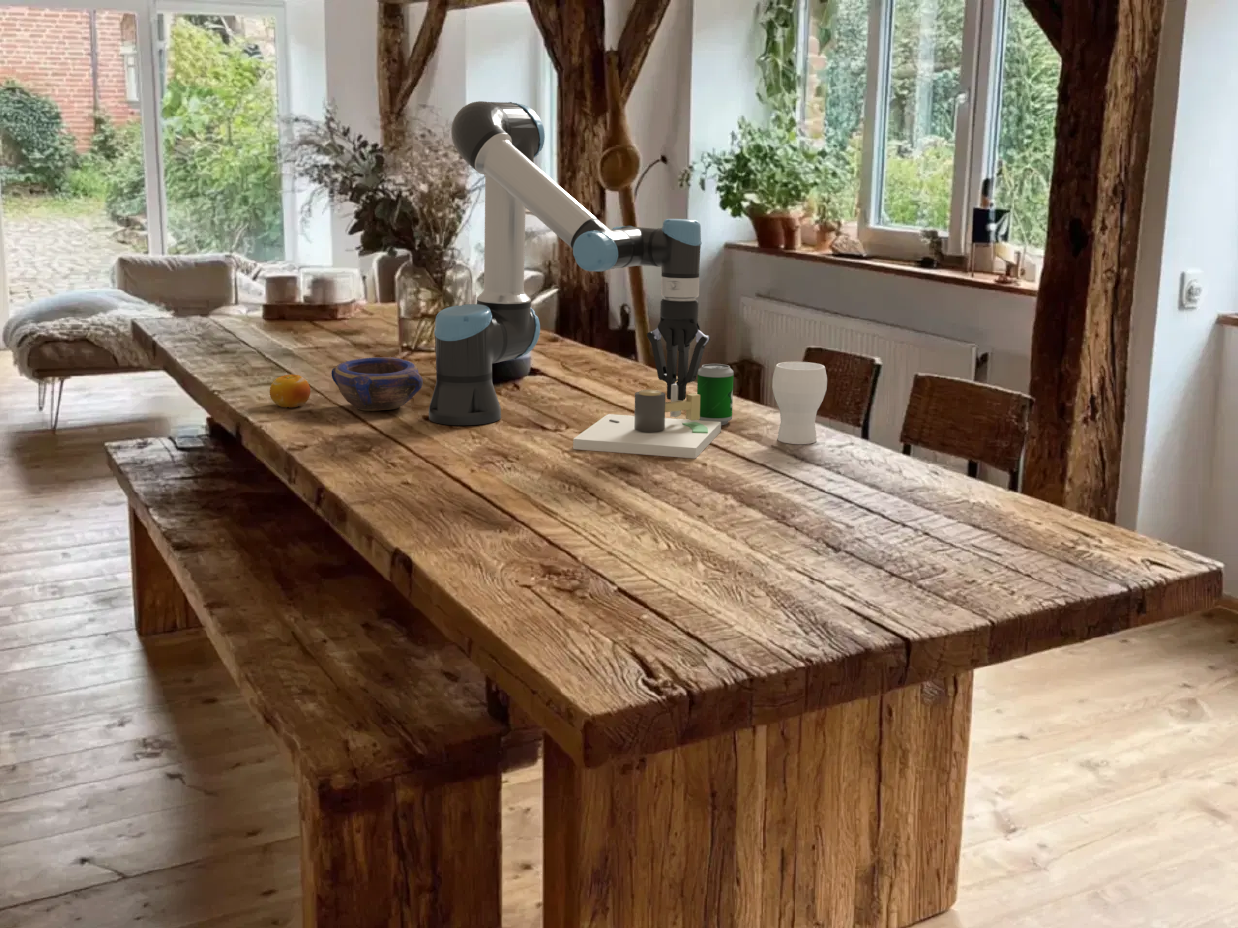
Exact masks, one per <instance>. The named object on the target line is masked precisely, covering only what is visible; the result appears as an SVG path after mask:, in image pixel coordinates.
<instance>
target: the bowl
mask: <svg viewBox="0 0 1238 928" xmlns="http://www.w3.org/2000/svg"><path fill="white" fill-rule="evenodd" d="M330 375H331V378H332V380H333V382H334V383H335V385H336V386H337V387H338V390H339V392H340V394H341V395H342V396H343V398H344V399H345V400H346V401H347V403H349V404H350V405H352V406H353V407H354V408H356V409H358V410H360V411H368V412H375V411H377V412H378V411H386V410H387V411H388V410H396V409H399V408H400V407H402V406H404V405H406V403H408V402H409V401H410V400H411V399H413V397H414V396H415V395H416V394H417V393H419V391H420V390H421V389H422V388H423V386H424V385H423V384H424V383H423V382H424V381H423V377H422V376H421V374H420V373H419V369H418V367H417V365H415V363H413V362H411V361H409V360H406V359H401V358H397V357H389V356H388V357H386V356H383V357H382V356H381V357H380V356H379V357H378V356H377V357H363V358H362V357H361V358H355V359H350V360H346V361H343V362H341V363H339V364H337V365H336V366H335V367H333V368H332V370H331V373H330Z"/></svg>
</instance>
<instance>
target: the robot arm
mask: <svg viewBox="0 0 1238 928" xmlns="http://www.w3.org/2000/svg"><path fill="white" fill-rule="evenodd" d="M450 133H451V135H450V136H451V140H452V144H453V146H454V148H455V149H456V151H457V154H458V155H459V156H460V157H461V158H462V159H463V160H464V161H465V162H466V163H467V164H468V165H469V166H470V167H471V168H472V169H473V170H475V172H477V173H478V174H480V175H484V179H485V182H484V183H485V184H484V251H483V252H484V254H483V255H484V256H483V257H484V258H483V260H484V261H483V264H484V266H483V271H484V272H483V290H482V292H481V293H480V294H479V295H477V297H476V304H475V303H468V304H465V303H464V304H461V305H453V306H449V307H448V306H447V307H446V308H444V309H441V310H440V311H439V312H438V313H437V314H436V315H435V319H434V320H435V322H434V323H435V324H434V325H435V327H434V331H433V332H434V342H435V347H434V348H435V370H436V372H435V374H436V375H435V376H436V379H435V380H436V383H435V386H434V390H433V393H432V396H431V400H430V403H429V407H428V420H429V421H431V422H433V423H436V424H439V425H448V426H478V425H485V424H492V423H494V422H498V421H499V420H501V419H502V408H501V405H500V402H499V398H498V396H497V393H496V389H495V386H494V384H493V364H496V363H500V362H501V363H502V362H505V361H513V360H517V359H519V358H521V357H524V356H526V355H527V354H529V353H530V352H532V351H533V349H534V348H535V347H536V345H537V344H538V341H539V338H540V335H541V334H540V333H541V324H540V319H539V317H538V315H536V312H535V310H534V309H533V308H532V307H531V305H532V300H531V298H530V297H529V295H528V294H527V293H526V292H525V287H524V286H525V256H526V255H525V251H526V250H525V248H526V247H525V246H526V245H525V244H526V209H527V210H528V211H529V212H530V213H532V215H533V216H534V217H536V218H537V219H538V220H539V221H540V222H542V223H543V224H544V226H546V227H547V228H548V229H549V230H551V232H553V233H554V234H555V235H556V236H557V237H558V238H560V239H561V240H562V241H563V242H564V243H565V244H566V245H568V247H570V248H571V249H572V254H573V257H574V259H575V263H576V264H577V265H578V266H579V268H581V269H582V270H584V271H587V272H599V273H600V272H606V271H609V270H614V269H615V270H616V269H623V268H628V267H636V266H637V267H639V266H642V267H643V266H644V267H646V266H647V267H656V268H658V267H660V268H661V281H660V282H661V283H660V284H661V285H660V295H661V297H663V298H662V299H661V300H660V304H659V305H660V306H659V308H660V309H659V310H660V311H659V317H660V318H659V319H660V320H659V322H658V324H657V327H656V329H654V330H652V331H649V332H647V334H646V337H647V339H648V341H649V342H650V344H651V349H652V353H653V358H654V364H655V368H656V373H657V377H658V380H659V381H663V382H665V383H666V398H667V400H670V402H673V401H683V400H686V397H687V384H689V383H692V382H694V381H696V379H697V377H698V370H699V369H700V366H701V363H702V359H703V358H702V357H703V356H704V355H703V354H704V353H705V348H706V346H707V344H709V342H710V340H711V337H710V335H707V334H704V333H703V331H701V327H700V325H699V301H698V298H699V297H700V265H701V264H700V263H701V262H700V261H701V248H702V247H701V246H702V232H701V231H702V228H701V223H700V221H698V220H697V219H691V218H666V219H664V220H663V222H662V227H661V228H659V227H658V228H654V227H638V226H632V225H626V226H625V225H623V226H615V227H613V228H608V227H607V226H606V225H605V224H604V223H603V222H602V221H600V220H599V219H598V218H597V217H596V216H595V215H594V214H592V213H591V212H590V211H589V210H588V209H587V208H586V207H584V206H583V204H581V203H580V202H578V201H577V200H576V198H574V197H573V196H572V195H570V193H568V192H567V191H566V190H565V189H564V188H562V187H561V186H560V185H559V184H558V183H557V182H556V181H555V180H553V179H552V178H551V177H550V176H549V175H548V174H547V173H545V172H544V171H543V169H541V168H539V167H538V166H537V165H536V164H535V162H534V161H535V158H537V156H538V155H539V154H540V152H541V151H542V149H543V148H544V145H545V139H546V137H545V136H546V135H545V134H546V133H545V128H544V125H543V121H542V120H541V118H540V116H539V115H538V114H537V113H536V112H535V110H534V109H532V108H531V107H529V106H528V105H525V104H521V103H517V102H512V101H509V102H506V101H505V102H503V101H502V102H501V101H498V102H497V101H496V102H495V101H480V100H479V101H474V102H473V101H472V102H471V103H468V104H466V105H464V106H463V107H461V108H460V109H459V111H457V113H456V115H455V116H454V118H453V120H452V125H451V132H450ZM662 338H663V339H664V341H665V343H666V344H665V345H666V346H665V349H666V358H665V352H664V349H663V343H662V341H661V339H662ZM694 339H695V342H696V344H695V347H694V350H693V353H692V356H691V360H690V363H689V352H690V346H691V344H692V342H693V340H694ZM669 415H670V417H671V418H678V417H680V416H682V410H681V411H671V412H670V414H669ZM670 417H669V418H670Z"/></svg>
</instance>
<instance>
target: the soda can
mask: <svg viewBox="0 0 1238 928" xmlns="http://www.w3.org/2000/svg"><path fill="white" fill-rule="evenodd" d="M734 375H735V374H734V370H733V369H732V368H731V366H730V365H727V364H723V363H722V364H721V363H708V364H707V363H706V364H702V365H701V367H699V369H698V373H697V382H696V383H697V384H696V385H697V386H696V390H697V391H696V394H699V395H700V420H702V421H716V422H721V426H724V425H728V423H729V422H730V421H731V420H732V419H733V406H734V405H733V402H734V401H733V400H734V398H733V397H734Z"/></svg>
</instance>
